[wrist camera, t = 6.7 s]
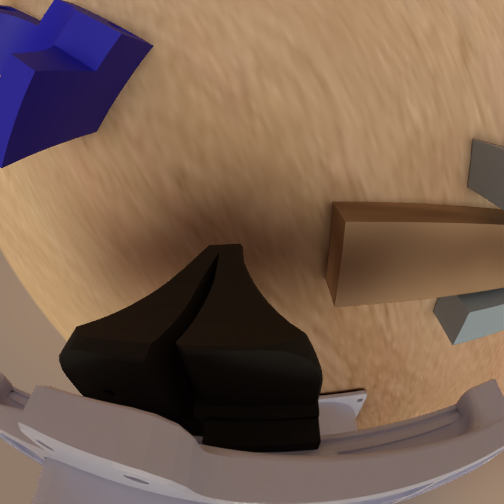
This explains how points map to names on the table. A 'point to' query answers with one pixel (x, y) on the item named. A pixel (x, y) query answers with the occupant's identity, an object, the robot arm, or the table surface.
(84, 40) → the cable clip
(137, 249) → the table surface
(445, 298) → the end cap
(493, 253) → the slat
